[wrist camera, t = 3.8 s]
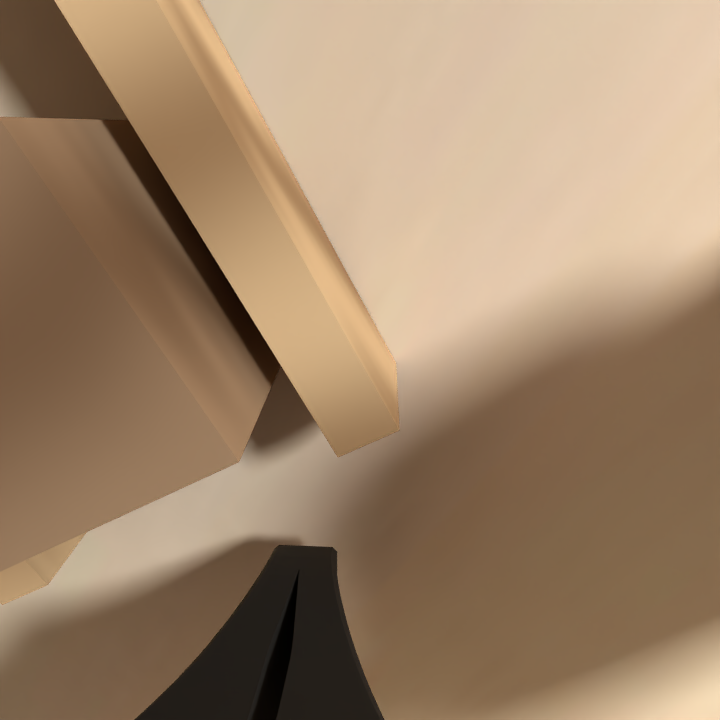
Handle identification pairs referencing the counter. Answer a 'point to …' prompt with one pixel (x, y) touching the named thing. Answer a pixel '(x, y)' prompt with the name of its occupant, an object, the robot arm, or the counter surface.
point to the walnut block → (109, 337)
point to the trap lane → (236, 221)
